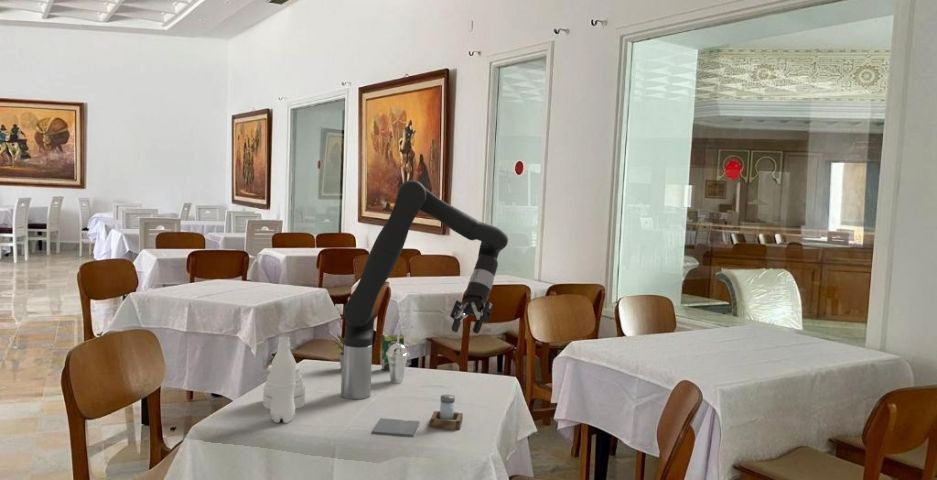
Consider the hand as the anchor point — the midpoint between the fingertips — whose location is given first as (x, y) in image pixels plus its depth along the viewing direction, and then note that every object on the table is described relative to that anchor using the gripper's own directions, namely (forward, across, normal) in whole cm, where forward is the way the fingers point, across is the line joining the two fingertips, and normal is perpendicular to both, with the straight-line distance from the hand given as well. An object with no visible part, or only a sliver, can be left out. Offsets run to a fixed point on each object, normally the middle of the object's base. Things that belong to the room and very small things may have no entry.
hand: (464, 332), depth 242 cm
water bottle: (+43, -34, -26) cm, 61 cm away
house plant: (+10, -66, +16) cm, 69 cm away
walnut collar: (+28, +1, +4) cm, 29 cm away
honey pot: (+36, -47, -19) cm, 62 cm away
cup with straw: (+12, -41, +20) cm, 47 cm away
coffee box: (+5, -54, +27) cm, 61 cm away
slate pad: (+35, -7, -8) cm, 37 cm away
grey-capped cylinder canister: (+28, +1, +4) cm, 29 cm away
